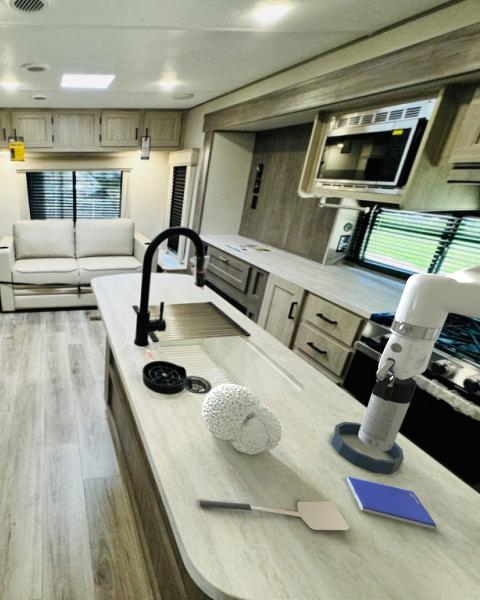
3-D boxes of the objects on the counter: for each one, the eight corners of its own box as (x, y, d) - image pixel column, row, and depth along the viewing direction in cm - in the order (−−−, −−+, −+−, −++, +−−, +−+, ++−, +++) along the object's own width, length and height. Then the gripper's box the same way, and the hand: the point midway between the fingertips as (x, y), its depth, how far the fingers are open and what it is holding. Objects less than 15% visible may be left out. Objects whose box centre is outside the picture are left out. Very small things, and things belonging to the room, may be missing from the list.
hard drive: (413, 490, 72) (348, 475, 76) (436, 525, 65) (363, 506, 69) (410, 495, 72) (346, 480, 76) (434, 530, 65) (361, 511, 69)
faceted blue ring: (351, 427, 92) (355, 416, 91) (410, 464, 80) (415, 452, 79) (319, 440, 88) (323, 429, 86) (376, 481, 76) (382, 469, 74)
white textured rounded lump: (188, 419, 85) (228, 374, 82) (192, 407, 101) (226, 369, 98) (254, 480, 77) (301, 432, 75) (248, 457, 93) (286, 417, 91)
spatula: (348, 534, 65) (351, 529, 64) (202, 517, 69) (203, 513, 68) (330, 506, 71) (332, 501, 70) (196, 491, 74) (197, 487, 74)
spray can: (398, 453, 78) (426, 386, 71) (368, 450, 79) (392, 384, 72) (379, 433, 84) (403, 370, 77) (351, 431, 85) (372, 369, 78)
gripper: (413, 343, 64) (386, 412, 71) (459, 327, 70) (430, 393, 76) (370, 329, 71) (349, 393, 77) (416, 315, 76) (393, 377, 83)
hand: (390, 393), depth 77 cm, fingers closed on spray can, 6 cm apart
